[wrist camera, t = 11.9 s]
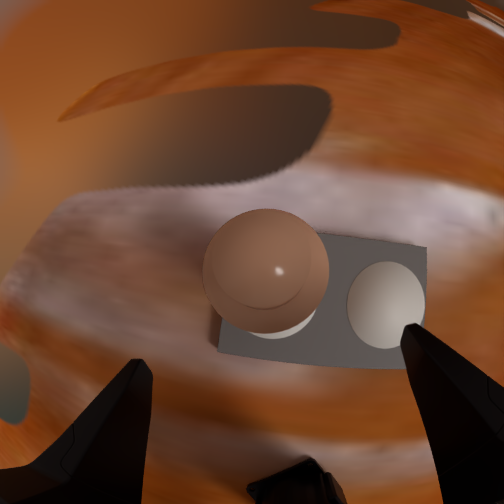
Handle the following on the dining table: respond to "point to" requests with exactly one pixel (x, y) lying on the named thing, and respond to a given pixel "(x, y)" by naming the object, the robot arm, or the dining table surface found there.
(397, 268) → the slate board
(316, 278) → the light brown tall cylinder
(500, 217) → the dining table surface
